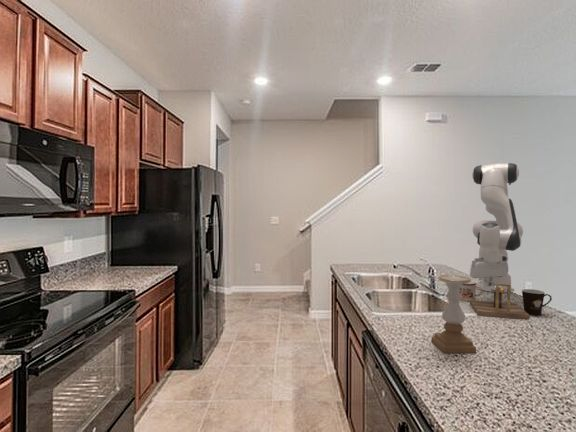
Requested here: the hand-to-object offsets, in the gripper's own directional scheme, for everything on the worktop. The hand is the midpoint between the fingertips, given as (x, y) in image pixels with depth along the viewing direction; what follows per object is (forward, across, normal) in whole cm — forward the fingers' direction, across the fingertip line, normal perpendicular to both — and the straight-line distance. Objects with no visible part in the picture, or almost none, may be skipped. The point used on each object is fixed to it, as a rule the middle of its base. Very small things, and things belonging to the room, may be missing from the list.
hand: (488, 286), depth 187 cm
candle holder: (+10, -55, -36) cm, 66 cm away
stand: (+10, -3, -8) cm, 13 cm away
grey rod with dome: (0, -2, -7) cm, 7 cm away
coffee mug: (+10, +10, -17) cm, 22 cm away
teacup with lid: (+10, +1, +13) cm, 16 cm away
